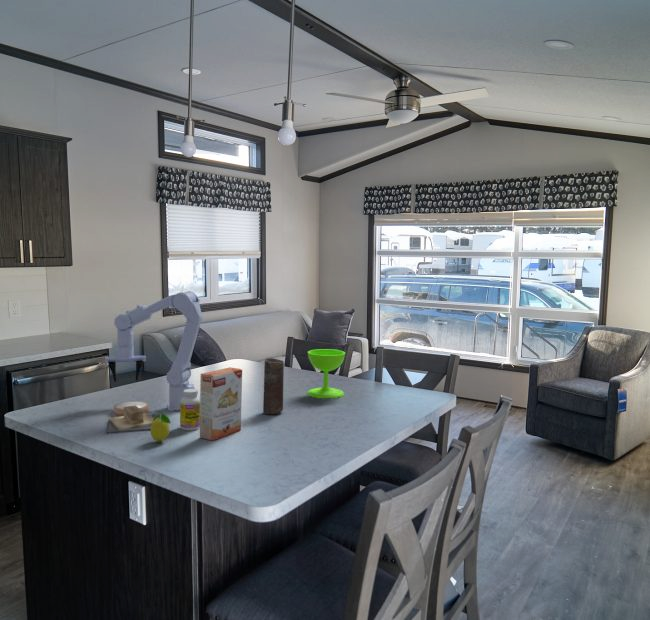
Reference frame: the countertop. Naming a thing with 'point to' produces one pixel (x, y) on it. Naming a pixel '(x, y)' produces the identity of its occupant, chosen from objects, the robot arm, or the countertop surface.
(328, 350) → the wineglass
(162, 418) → the lemon
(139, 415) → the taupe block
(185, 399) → the supplement bottle
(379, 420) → the countertop surface
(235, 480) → the countertop surface
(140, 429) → the charcoal mat
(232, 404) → the cracker box
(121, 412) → the terracotta dish
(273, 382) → the candle
